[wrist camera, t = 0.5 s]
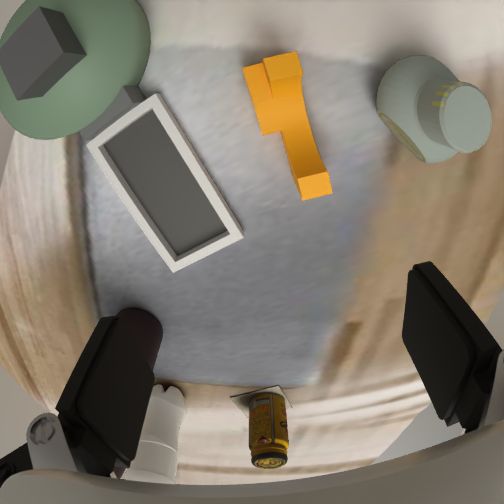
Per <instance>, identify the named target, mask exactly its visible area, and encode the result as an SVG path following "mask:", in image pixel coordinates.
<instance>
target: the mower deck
mask: <svg viewBox="0 0 504 504" xmlns="http://www.w3.org/2000/svg"><path fill="white" fill-rule="evenodd" d="M150 44H151V40H150V28H149V23H148V20H147V17H146V14H145V12H144V11H143V9H142V7H141V6H140V4H139V3H138V2H137V1H136V0H26V1H25V2H24V3H23V4H22V5H21V6H20V7H19V9H18V10H17V11H16V12H15V14H14V15H13V16H12V18H11V20H10V21H9V23H8V25H7V27H6V28H5V31H4V32H3V34H2V37H1V39H0V110H1V112H2V114H3V116H4V118H5V119H6V120H7V121H8V123H9V124H10V125H11V126H12V127H13V128H14V129H15V130H17V131H18V132H20V133H21V134H23V135H25V136H28V137H30V138H34V139H41V140H49V139H56V138H60V137H64V136H67V135H70V134H73V133H76V132H80V134H81V136H82V137H83V139H84V141H86V140H89V139H92V138H94V137H95V138H94V139H93V140H92V141H91V142H89V143H88V144H87V145H86V146H87V147H88V149H89V150H90V152H91V154H92V155H93V157H94V158H95V160H96V162H97V163H98V165H99V166H100V168H101V169H102V171H103V173H104V174H105V176H106V177H107V179H108V180H109V182H110V183H111V185H112V186H113V188H114V189H115V191H116V192H117V194H118V195H119V197H120V198H121V200H122V201H123V203H124V204H125V206H126V207H127V209H128V210H129V212H130V213H131V215H132V216H133V218H134V219H135V220H136V222H137V223H138V225H139V226H140V228H141V229H142V230H143V232H144V233H145V235H146V236H147V238H148V239H149V240H150V242H151V243H152V245H153V246H154V247H155V249H156V250H157V251H158V253H159V254H160V256H161V257H162V258H163V260H164V261H165V262H166V264H167V265H168V266H169V268H170V269H171V270H172V272H173V273H174V272H176V271H178V270H180V269H182V268H184V267H186V266H188V265H190V264H192V263H194V262H196V261H198V260H200V259H202V258H204V257H206V256H208V255H210V254H212V253H214V252H216V251H218V250H220V249H222V248H224V247H226V246H228V245H230V244H232V243H234V242H236V241H238V240H240V239H242V238H244V231H243V229H242V228H241V226H240V224H239V223H238V221H237V219H236V218H235V216H234V215H233V213H232V211H231V210H230V208H229V206H228V205H227V203H226V201H225V200H224V198H223V196H222V195H221V193H220V191H219V190H218V188H217V187H216V185H215V183H214V182H213V180H212V178H211V177H210V175H209V173H208V172H207V170H206V168H205V167H204V165H203V164H202V162H201V160H200V159H199V157H198V155H197V154H196V152H195V150H194V149H193V147H192V145H191V144H190V142H189V141H188V139H187V137H186V136H185V134H184V132H183V131H182V129H181V127H180V126H179V124H178V123H177V121H176V119H175V118H174V116H173V114H172V113H171V111H170V109H169V108H168V106H167V105H166V103H165V101H164V100H163V98H162V96H161V95H160V93H155V94H154V95H152V96H151V97H149V98H148V99H145V97H144V95H143V94H142V92H141V91H140V89H139V87H138V85H139V83H140V81H141V78H142V76H143V74H144V71H145V68H146V66H147V62H148V58H149V53H150Z"/></svg>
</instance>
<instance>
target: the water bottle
mask: <svg viewBox="0 0 504 504" xmlns="http://www.w3.org/2000/svg"><path fill="white" fill-rule="evenodd" d="M186 411H187V403H186V400H185V398H184V396H182V393H181V391H180V390H179V389H178V388H176V387H173V386H170V387H169V388H168V389H167V391H166V392H164V389H163V386H162V385H160V384H158V385H155V386H153V389H152V393H151V396H150V400H149V404H148V408H147V412H146V416H145V420H144V424H143V428H142V432H141V436H140V440H139V444H138V449H137V453H136V457H135V459H134V460H133V461H131V464H130V468H127V470H126V472H125V480H133V481H141V482H151V483H164V484H175V478H176V471H177V464H178V458H179V451H178V434H179V428H180V425H181V422H182V420H183V418H184V416H185V414H186Z"/></svg>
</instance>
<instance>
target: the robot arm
mask: <svg viewBox="0 0 504 504" xmlns="http://www.w3.org/2000/svg"><path fill="white" fill-rule="evenodd" d="M402 338H403V342H404V344H405V346H406V348H407V350H408V352H409V354H410V356H411V358H412V361H413V363H414V365H415V367H416V369H417V371H418V373H419V375H420V377H421V379H422V381H423V384H424V386H425V388H426V390H427V392H428V395H429V397H430V399H431V401H432V403H433V406H434V408H435V410H436V413H437V415H438V417H439V418H440V419H441V420H443V419H444V420H445V422H446V425H447V427H448V426H450V425H453V424H455V423H458V422H460V424H461V426H462V428H463V431H462V434H461V436H458V437H456V438H454V439H451V440H448V441H446V442H443V443H440V444H438V445H435V446H432V447H429V448H426V449H423V450H420V451H417V452H414V453H411V454H408V455H405V456H402V457H399V458H395V459H392V460H388V461H385V462H381V463H377V464H373V465H369V466H365V467H361V468H357V469H353V470H348V471H343V472H338V473H333V474H328V475H322V476H316V477H310V478H303V479H296V480H288V481H279V482H269V483H257V484H239V485H181V484H164V483H151V482H141V481H133V480H125V479H118V478H117V477H116V475H115V473H114V472H113V469H114V465H115V466H116V467H122V468H130V464H131V461H133V460H134V459H135V457H136V453H137V449H138V444H139V440H140V436H141V432H142V428H143V424H144V420H145V416H146V412H147V408H148V404H149V400H150V396H151V393H152V389H153V385H154V381H155V378H154V373H153V371H152V369H151V368H150V366H149V364H148V363H147V361H146V359H145V357H144V356H143V354H142V352H141V350H140V349H139V347H138V345H137V343H136V341H135V340H134V338H133V336H132V334H131V332H130V330H129V329H128V327H127V325H126V323H125V321H124V320H122V319H120V318H119V317H118V316H110V317H103V318H101V319H100V320H99V322H98V324H97V326H96V328H95V329H94V331H93V333H92V335H91V337H90V339H89V341H88V342H87V344H86V346H85V348H84V350H83V352H82V354H81V356H80V358H79V360H78V362H77V364H76V366H75V368H74V370H73V372H72V374H71V376H70V378H69V380H68V382H67V384H66V386H65V388H64V390H63V392H62V395H61V397H60V399H59V401H58V403H57V405H56V408H55V409H56V410H57V411H58V412H59V414H58V417H57V416H56V415H55V414H52V413H43V414H41V415H39V416H37V417H36V418H35V419H34V420H33V421H32V422H31V423H30V425H29V427H28V429H27V434H26V435H27V443H25V444H24V445H22V446H21V447H19V448H18V449H16V450H14V451H13V452H11V453H9V454H8V455H6V456H5V457H3V458H1V459H0V504H504V350H502V349H501V348H500V346H499V345H498V343H497V342H496V340H495V339H494V338H493V336H492V335H491V334H490V332H489V331H488V329H487V328H486V327H485V326H484V324H483V323H482V322H481V320H480V319H479V318H478V316H477V315H476V314H475V313H474V311H473V310H472V309H471V308H470V306H469V305H468V304H467V303H466V301H465V300H464V299H463V298H462V296H461V295H460V294H459V293H458V292H457V290H456V289H455V288H454V287H453V286H452V285H451V283H450V282H449V281H448V280H447V279H446V278H445V276H444V275H443V274H442V273H441V272H440V271H439V270H438V268H437V267H436V266H435V265H434V264H433V263H432V262H430V261H428V262H424V263H420V264H415V265H414V266H413V269H412V270H410V271H409V273H408V282H407V294H406V304H405V313H404V321H403V329H402Z"/></svg>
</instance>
